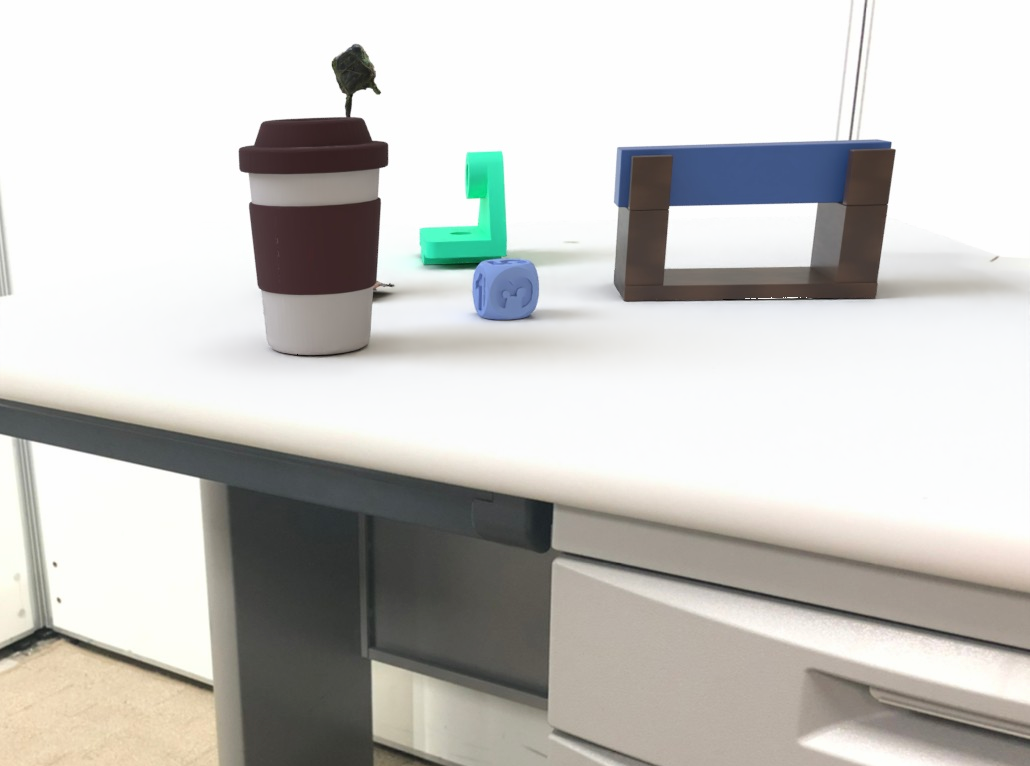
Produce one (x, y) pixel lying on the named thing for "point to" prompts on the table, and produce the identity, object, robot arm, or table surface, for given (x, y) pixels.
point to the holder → (832, 273)
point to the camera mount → (491, 231)
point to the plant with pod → (355, 83)
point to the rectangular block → (749, 172)
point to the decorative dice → (505, 289)
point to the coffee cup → (315, 230)
